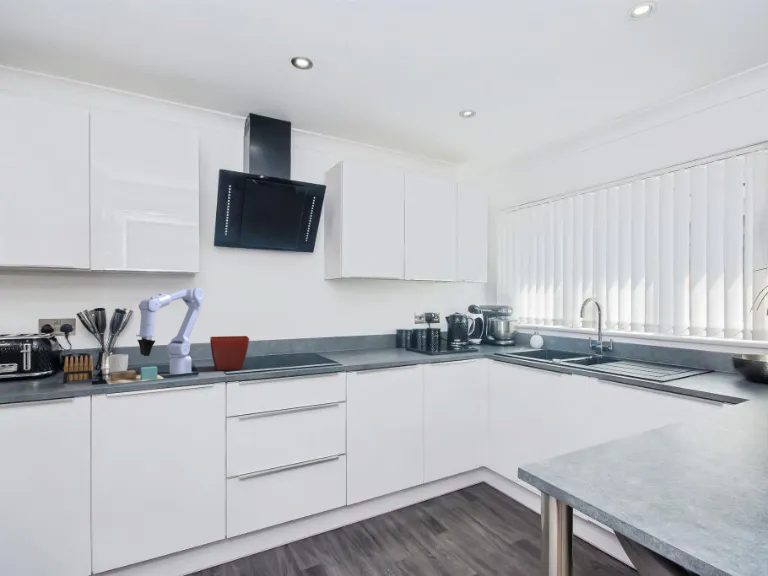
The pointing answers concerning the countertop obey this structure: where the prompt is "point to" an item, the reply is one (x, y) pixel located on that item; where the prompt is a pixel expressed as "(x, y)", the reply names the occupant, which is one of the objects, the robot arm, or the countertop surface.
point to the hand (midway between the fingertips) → (145, 355)
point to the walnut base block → (123, 375)
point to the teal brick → (148, 373)
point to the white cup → (118, 362)
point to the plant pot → (229, 351)
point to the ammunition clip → (78, 369)
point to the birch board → (130, 380)
